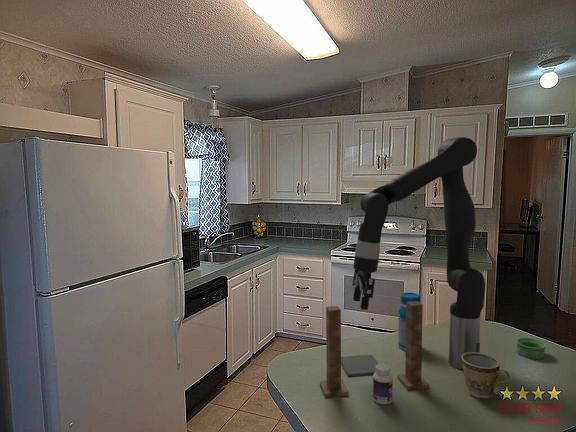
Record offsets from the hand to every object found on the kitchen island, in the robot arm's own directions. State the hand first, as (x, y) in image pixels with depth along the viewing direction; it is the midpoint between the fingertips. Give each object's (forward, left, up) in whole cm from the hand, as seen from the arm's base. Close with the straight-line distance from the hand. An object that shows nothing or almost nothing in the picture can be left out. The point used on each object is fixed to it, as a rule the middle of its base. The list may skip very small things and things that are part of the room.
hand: (360, 305), depth 125 cm
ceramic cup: (-36, +1, -23) cm, 43 cm away
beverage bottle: (-13, -24, -23) cm, 36 cm away
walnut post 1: (+5, +14, -22) cm, 27 cm away
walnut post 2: (-17, +1, -22) cm, 28 cm away
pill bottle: (-9, +14, -23) cm, 28 cm away
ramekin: (-53, -33, -23) cm, 67 cm away
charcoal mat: (+1, -4, -22) cm, 23 cm away
